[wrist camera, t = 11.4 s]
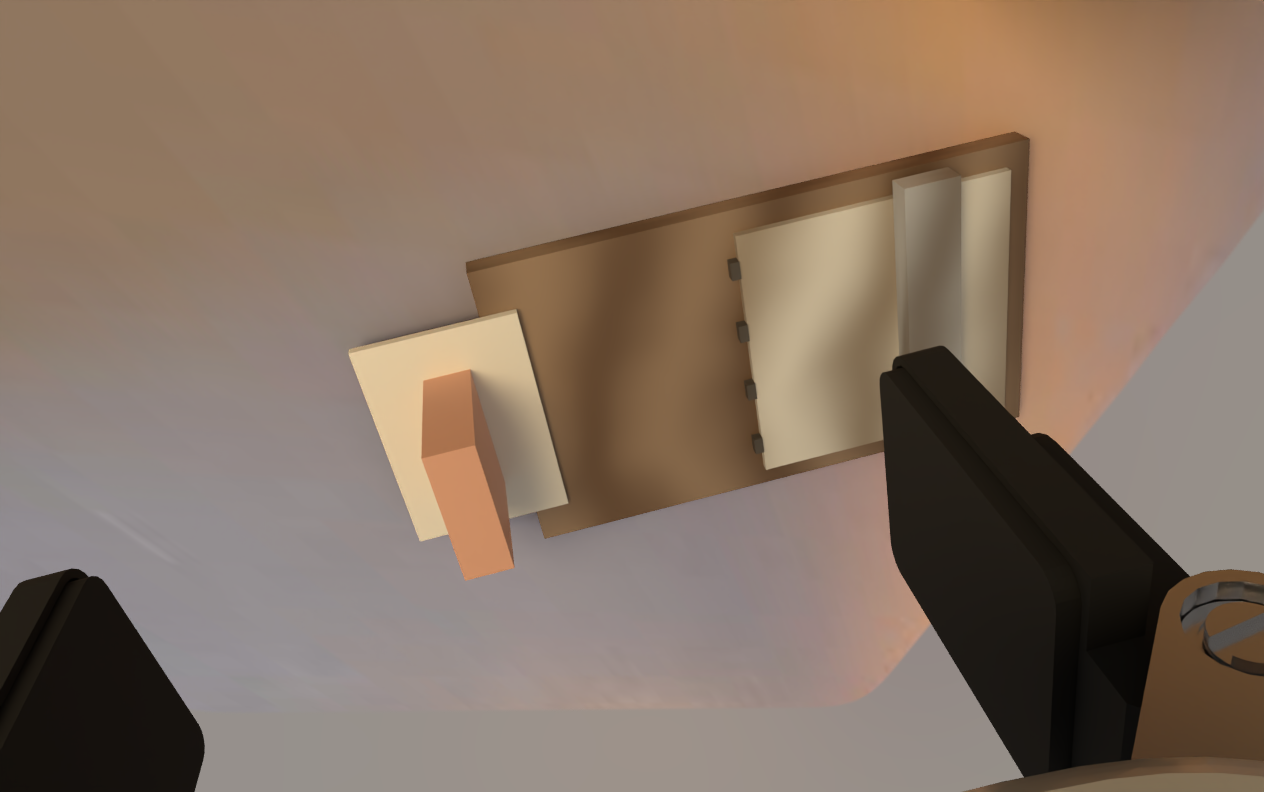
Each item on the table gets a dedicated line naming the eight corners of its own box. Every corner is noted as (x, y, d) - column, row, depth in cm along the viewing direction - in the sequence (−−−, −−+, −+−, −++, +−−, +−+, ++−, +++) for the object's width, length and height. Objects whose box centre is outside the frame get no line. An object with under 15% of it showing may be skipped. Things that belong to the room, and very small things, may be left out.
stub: (516, 308, 40) (529, 382, 34) (567, 498, 45) (585, 588, 39) (349, 349, 39) (334, 430, 34) (420, 536, 44) (418, 632, 39)
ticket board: (1014, 131, 41) (1050, 149, 39) (1006, 404, 48) (1036, 433, 46) (465, 262, 40) (468, 289, 37) (542, 523, 47) (547, 560, 44)
